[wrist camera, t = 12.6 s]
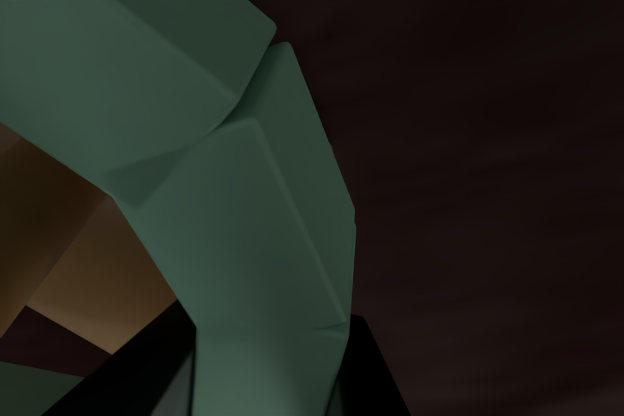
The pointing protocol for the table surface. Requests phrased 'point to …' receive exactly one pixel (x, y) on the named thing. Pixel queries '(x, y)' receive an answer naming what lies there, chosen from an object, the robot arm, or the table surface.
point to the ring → (196, 184)
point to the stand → (71, 251)
